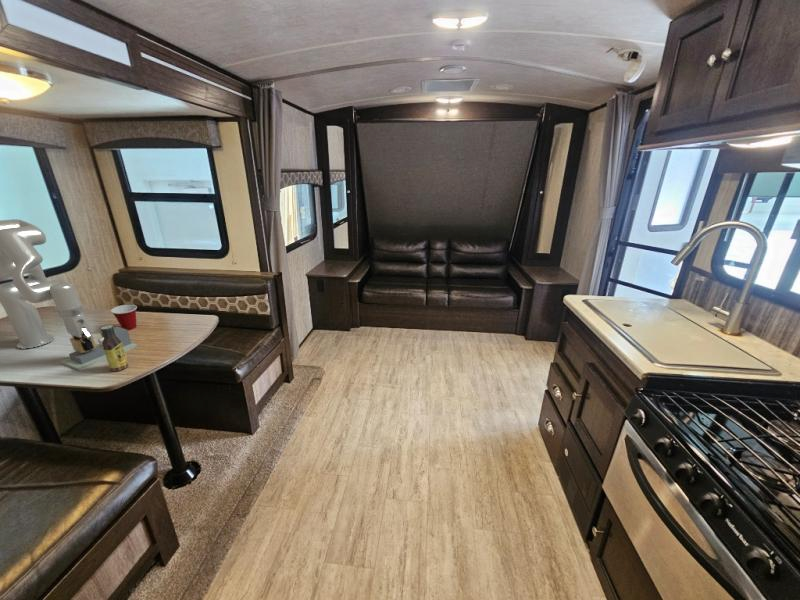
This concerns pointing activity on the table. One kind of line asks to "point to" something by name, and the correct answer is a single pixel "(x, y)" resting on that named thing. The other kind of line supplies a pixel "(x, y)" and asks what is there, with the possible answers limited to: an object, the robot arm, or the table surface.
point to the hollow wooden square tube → (80, 343)
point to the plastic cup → (126, 316)
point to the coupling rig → (97, 352)
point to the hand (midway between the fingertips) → (85, 347)
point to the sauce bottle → (113, 349)
